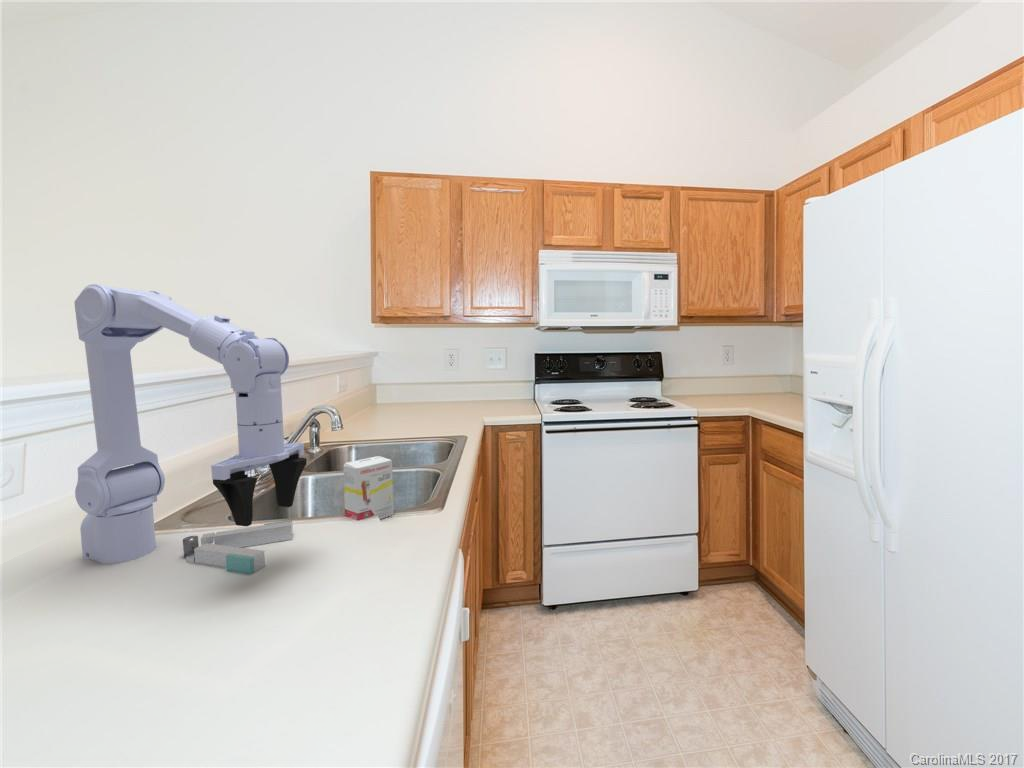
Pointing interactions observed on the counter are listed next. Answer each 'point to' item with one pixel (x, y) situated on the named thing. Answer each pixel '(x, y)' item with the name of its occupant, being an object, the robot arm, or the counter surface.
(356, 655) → the counter surface
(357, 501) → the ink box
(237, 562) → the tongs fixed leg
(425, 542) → the counter surface
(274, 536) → the bar
